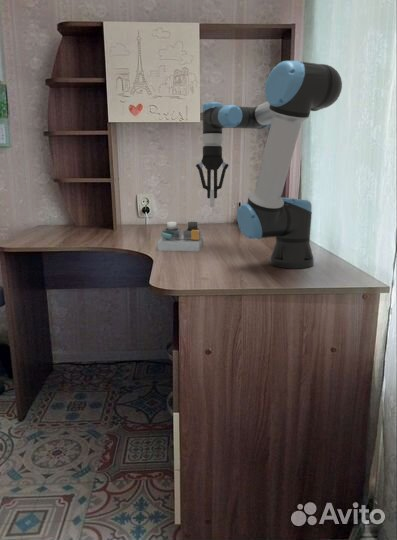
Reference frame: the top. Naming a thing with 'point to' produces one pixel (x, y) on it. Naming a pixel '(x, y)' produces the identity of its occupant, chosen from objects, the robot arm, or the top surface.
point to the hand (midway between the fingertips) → (212, 206)
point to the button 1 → (172, 225)
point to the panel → (180, 241)
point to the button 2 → (192, 225)
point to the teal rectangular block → (166, 235)
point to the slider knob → (195, 234)
